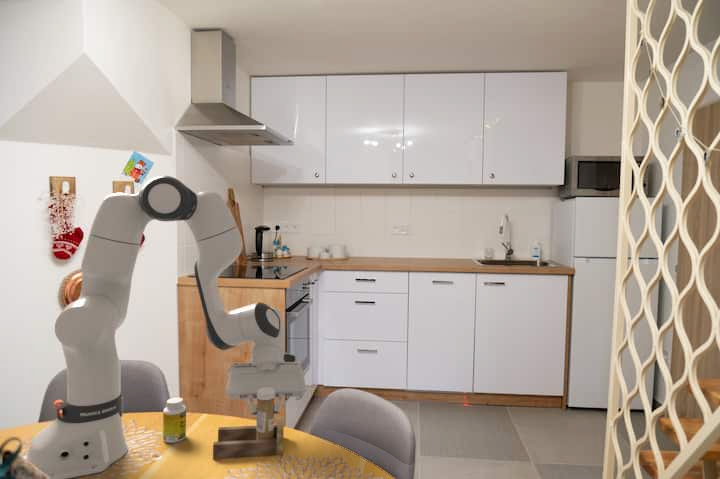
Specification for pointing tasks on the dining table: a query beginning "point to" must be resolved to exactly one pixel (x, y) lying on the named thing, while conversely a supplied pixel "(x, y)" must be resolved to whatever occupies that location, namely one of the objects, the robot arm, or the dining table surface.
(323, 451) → the dining table surface
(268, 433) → the spice jar
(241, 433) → the guide rail
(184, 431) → the supplement bottle
